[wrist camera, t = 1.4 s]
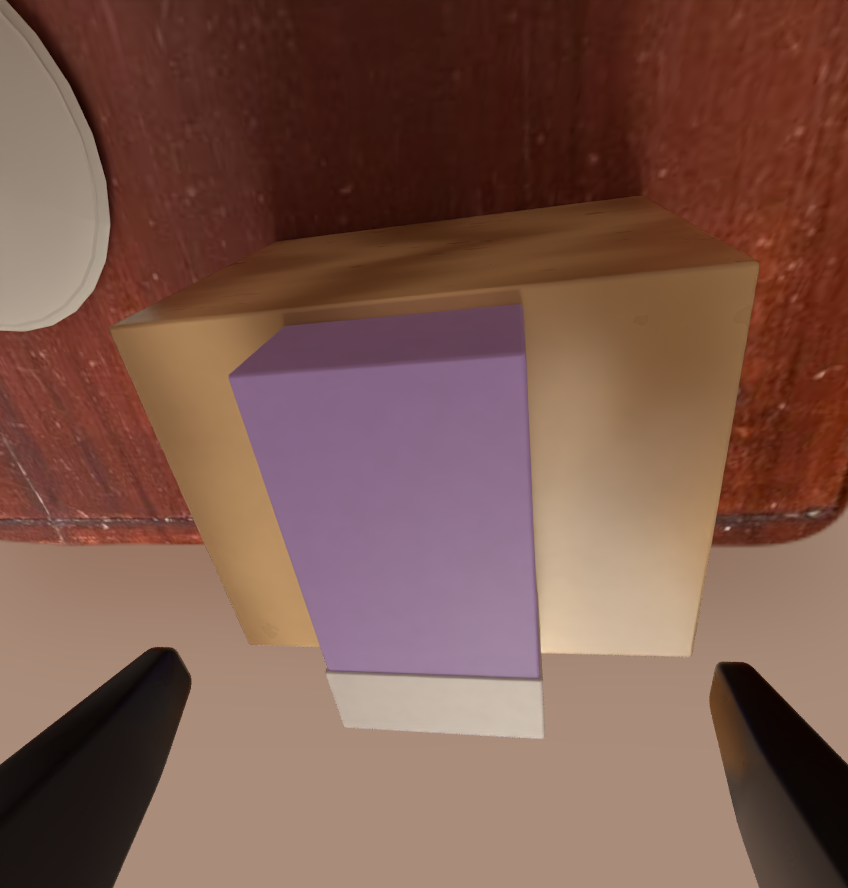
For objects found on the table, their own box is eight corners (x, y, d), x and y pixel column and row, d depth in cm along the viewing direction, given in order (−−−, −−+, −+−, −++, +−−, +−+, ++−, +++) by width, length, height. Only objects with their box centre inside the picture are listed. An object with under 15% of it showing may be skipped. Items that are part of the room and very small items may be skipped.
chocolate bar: (525, 301, 9) (529, 353, 7) (540, 647, 14) (545, 742, 12) (281, 324, 10) (220, 376, 8) (368, 642, 15) (344, 731, 12)
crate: (643, 194, 16) (762, 260, 8) (626, 462, 21) (692, 658, 13) (274, 241, 18) (105, 327, 11) (335, 473, 23) (248, 646, 15)
